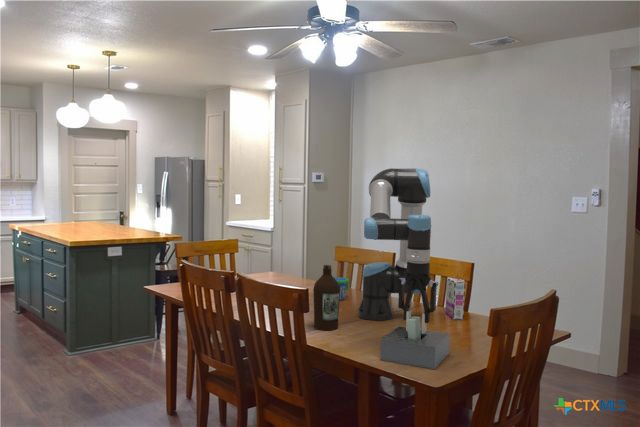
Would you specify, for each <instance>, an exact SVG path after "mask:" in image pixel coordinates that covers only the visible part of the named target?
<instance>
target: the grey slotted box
mask: <svg viewBox="0 0 640 427" xmlns="http://www.w3.org/2000/svg"><path fill="white" fill-rule="evenodd" d="M450 336H451V334H450V333H446V332H441V331H433V330H428V329H426V332H425V333H422V329H421V340H415V339H409V338H408V331H406V326H397V327H396V328H395V329H393V330H391V331H390V332H389V333H387V334H386V335H384V336H383V337H381V338H380V354H379V355H380V357H379V358H380V361H385V362H389V363H390V362H391V363H396V364H403V365H409V366H413V367H419V368H423V369H424V368H425V369H430V370H436V369H437V368H438V366H439V365H441V363H443V361H444V360H445V359H446V358H447V356H449V354H450Z"/></svg>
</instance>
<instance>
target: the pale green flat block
mask: <svg viewBox="0 0 640 427" xmlns="http://www.w3.org/2000/svg"><path fill="white" fill-rule="evenodd" d="M407 327H408V338H409V339H415V340H421V330H422V328H421V316H411V318H410V319H408V320H407Z"/></svg>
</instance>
